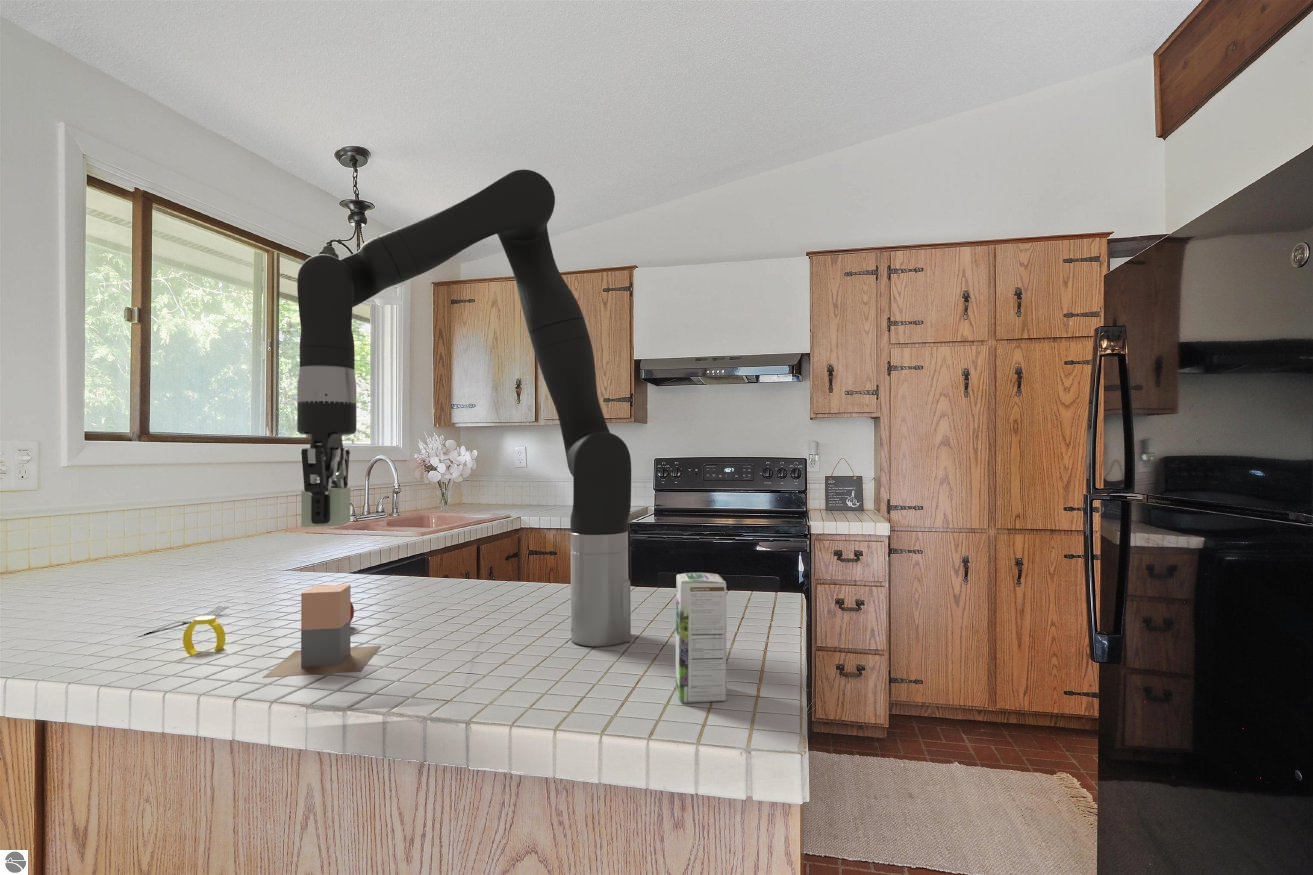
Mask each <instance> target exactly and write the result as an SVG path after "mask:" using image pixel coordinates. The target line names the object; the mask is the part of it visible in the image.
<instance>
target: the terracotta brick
mask: <svg viewBox="0 0 1313 875" xmlns="http://www.w3.org/2000/svg"><path fill="white" fill-rule="evenodd" d="M351 594H352V593H351V584H331V585H330V584H329V585H313V586H311V587H309V588H308V589H305V590H304V591H303V592H301V593H300V598H301V599H300V600H301V601H300V603H301V604H300V605H301V606H300V609H301V610H300V624H301V625H300V626H301V627H300V631H301V630H313V629H333V628H341V627H342V626H343V625H345V624H346V623H347V622H348V621H349V620H350V601H351Z"/></svg>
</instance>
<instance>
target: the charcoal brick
mask: <svg viewBox="0 0 1313 875" xmlns="http://www.w3.org/2000/svg"><path fill="white" fill-rule="evenodd" d="M300 634H301V635H300V645H301V646H300V650H301V667H311V666H328V665H341V663H342V662H343V661H344V660H345V659H346V658H347V657H348V656H349V655H350V647H351V623H350V620H349V621H348V622H347V623H346V624H345V625H343V626H342V627H341V628H333V629H313V630H301V629H300Z"/></svg>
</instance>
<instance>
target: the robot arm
mask: <svg viewBox="0 0 1313 875" xmlns="http://www.w3.org/2000/svg"><path fill="white" fill-rule="evenodd" d="M555 204H556V196H555V191H554V188H553V186H552V184H551V183H550V182H549V180H548V179H546V177H545V176H543V175H542V174H541V173H539V172H536V171H535V170H530V169H523V168H522V169H517V170H513V171H511V172H509V173H507V174H506V175H504V176H502V177H501V178H499V179H497V180H496V181H494V182H492V184H489V185H488V186H486V187H485V188H483V189H482V190H480V191H478V192H476V193H474V194H473V195H471V196H469V197H467V198H465V199H464V200H462V201H459V202H458V203H455V204H453V205H452V206H450V207H447V208H445V209H443V210H441V211H439V212H436V213H434V214H431V215H429V216H427V217H425V218H423V219H420V220H417V221H415V222H413V223H410V224H407V225H405V226H402V227H400V228H397V229H393V230H391V231H389V232H386V233H383V234H381V235H379V236H377V237H374V238H371V239H370V240H368V241H366V242H364V243H363V244H362V245H361V247H360V248H359V250H358V251H356V252H355V253H353V254H350V255H348V256H346V257H343V258H342V259H339V258H338V257H335V256H334V255H330V254H325V253H324V254H316V255H313V256H310V257H309V258H307V259H306V260H305V261H304V262H303V263H302V264H301V266H300V267H299V270H298V272H297V280H296V287H297V288H296V290H297V302H298V303H297V304H298V314H299V315H298V317H299V322H300V336H299V337H300V339H299V371H298V372H299V373H298V377H297V388H296V391H297V392H296V394H297V395H296V396H297V397H296V398H297V399H296V400H297V401H296V402H297V406H296V410H297V411H296V412H297V413H296V415H297V416H296V417H297V418H296V421H297V422H296V423H297V424H296V431H297V433H298V434H300V435H307V436H308V435H309V436H310V435H311V439H310V445H309V447H306V448H305V447H302V449H301V452H300V453H301V454H300V455H301V464H302V476H303V477H302V478H303V490H305V492H309V495H310V496H312V497H311V521H312V523H314V524H325V523H328V522H329V521H330V496H329V495H330V493H331V488H348V486H349V483H348V482H349V469H350V468H349V467H350V466H349V465H350V456H351V455H350V454H351V451H350V449H349V448H346V447H344V443H343V436H345V435H354V434H356V433H357V380H356V374H355V372H356V371H355V368H356V367H355V365H356V363H355V362H356V361H355V360H356V359H355V357H356V356H355V352H356V351H355V338H354V334H353V328H352V327H353V326H352V324H353V308H355V307H357V306H359V305H360V304H362V303H364V302H365V301H367V300H369V299H371V298H372V297H375V296H376V295H377V294H380V292H382V291H384V290H386V289H388V288H391V287H393V286H396V285H399V284H402V283H404V282H406V281H408V280H411V279H412V278H415V277H418V276H421V275H422V274H424V273H425V274H426V273H427V272H429V271H431V270H433V269H435V268H437V267H438V266H440V265H442V264H443V263H445V262H448V260H450V259H452V258H453V257H455V256H456V255H458V254H459V253H462V251H464V250H466V249H467V248H469V247H471V246H473V245H475V244H477V243H479V242H482V241H483V240H486V239H487V238H489V237H492V236H494V235H497V237H498V239H499V242H500V244H501V246H502V248H503V250H504V253H505V256H506V258H507V261H508V263H509V265H510V267H511V270H512V274H513V277H514V280H515V284H516V288H517V293H518V297H519V301H520V306H521V310H522V313H523V316H524V317H523V318H524V320H525V325H526V328H527V332H528V335H529V338H530V342H531V345H532V348H533V352H534V354H535V358H536V360H537V364H538V366H539V369H540V371H541V374H542V378H543V380H544V382H545V386H546V388H547V390H548V393H549V396H550V398H551V400H552V403H553V406H554V408H555V411H556V414H557V419H558V422H559V427H560V430H561V436H562V441H563V445H564V451H565V456H566V463H567V468H568V470H569V472H570V474H571V476H572V477H573V480H572V481H573V486H572V488H573V491H572V492H573V494H572V497H573V498H572V500H573V501H572V502H573V503H572V509H571V510H572V511H571V514H570V521H569V522H570V525H569V526H570V533H569V534H570V640H571V641H572V643H574V644H576V645H580V646H587V647H607V646H614V645H619V644H621V643H629V642H631V641H632V632H631V631H632V630H631V628H632V625H631V624H632V623H631V621H632V620H631V619H632V618H631V617H632V616H631V615H632V614H631V581H630V579H629V535H628V534H629V532H628V531H629V529H628V528H629V527H628V526H629V524H628V523H629V518H630V514H631V505H632V459H631V453H630V450H629V448H628V445H627V444H626V443H625V440H623V439H622V438H620V436H618V435H616V434H614V433H612V432H611V431H610V429H609V427H608V424H607V422H606V419H605V416H604V413H603V411H602V406H601V404H600V400H599V394H598V388H597V373H596V364H595V355H594V350H593V346H592V341H591V338H590V334H589V330H588V326H587V323H586V320H585V317H584V314H583V312H582V309H581V307H580V304H579V302H578V300H577V298H576V297H575V295H574V294H573V292H572V290H571V289H570V287H569V285H568V283H567V282H566V281H565V279H564V277H563V276H562V274H561V272H560V271H559V269H558V266H557V264H556V260H555V257H554V254H553V249H552V245H551V242H550V241H551V240H550V237H549V231H548V230H549V229H548V223H549V221H550V220H551V218H552V215H553V214H554V210H555V206H556V205H555ZM318 481H319V482H318Z"/></svg>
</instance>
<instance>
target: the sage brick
mask: <svg viewBox="0 0 1313 875" xmlns="http://www.w3.org/2000/svg"><path fill="white" fill-rule="evenodd" d="M329 496H330V521H329V522H328V523H325V524H314V523H312V521H311V497H312V496H310V495H309V492H305V490H304V489H301V496H300V498H301V504H300V505H301V509H300V510H301V511H300V512H301V513H300V516H301V517H300V518H301V522H300V523H301V524H300V525H301V526H300V527H301V528H306V527H307V528H310V527H311V528H312V527H313V528H314V527H341V526H344V525H347V524H350V523H351V487H347V488H331V493H330V495H329Z"/></svg>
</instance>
